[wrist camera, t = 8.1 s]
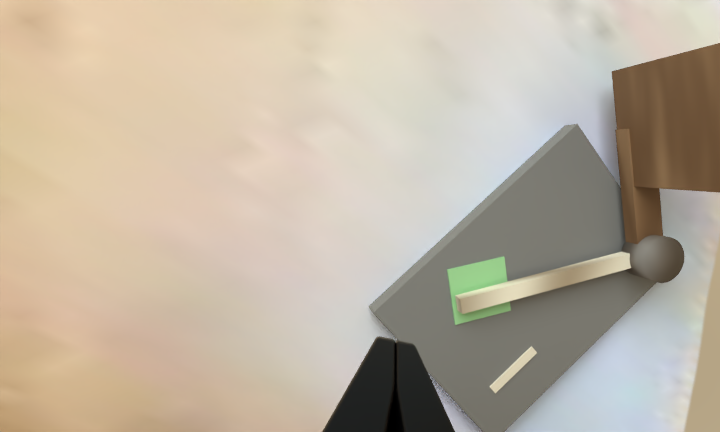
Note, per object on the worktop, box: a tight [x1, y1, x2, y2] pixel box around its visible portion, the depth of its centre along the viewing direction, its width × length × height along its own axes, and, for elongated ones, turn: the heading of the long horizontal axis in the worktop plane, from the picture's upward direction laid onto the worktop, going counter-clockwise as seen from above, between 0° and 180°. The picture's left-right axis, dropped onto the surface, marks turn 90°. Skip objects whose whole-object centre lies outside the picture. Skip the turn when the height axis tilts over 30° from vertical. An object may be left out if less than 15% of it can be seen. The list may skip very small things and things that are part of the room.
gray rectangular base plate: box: [369, 124, 656, 432], centre depth 24 cm, size 14×10×1 cm
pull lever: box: [455, 43, 720, 314], centre depth 16 cm, size 12×11×14 cm
